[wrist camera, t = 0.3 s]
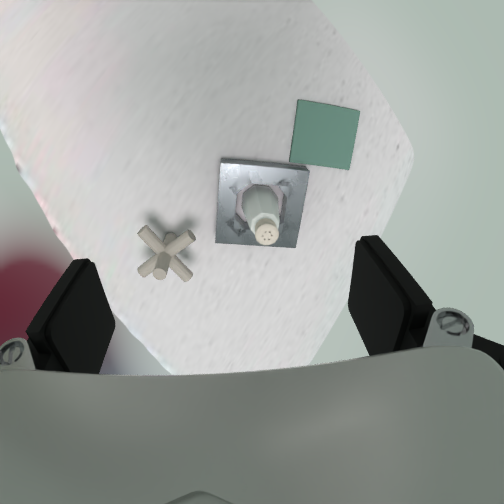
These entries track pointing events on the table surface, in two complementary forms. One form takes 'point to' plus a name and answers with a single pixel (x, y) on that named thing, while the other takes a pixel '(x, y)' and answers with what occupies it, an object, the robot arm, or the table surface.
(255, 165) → the frame
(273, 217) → the pepper shaker
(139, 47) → the table surface
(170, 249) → the pipe connector
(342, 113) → the mat
